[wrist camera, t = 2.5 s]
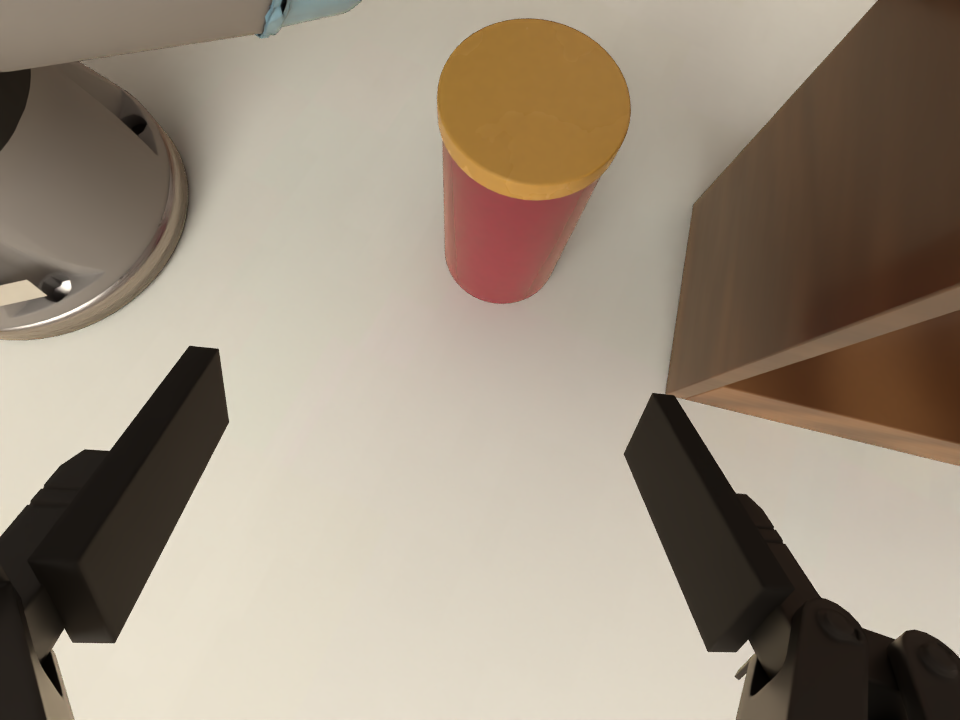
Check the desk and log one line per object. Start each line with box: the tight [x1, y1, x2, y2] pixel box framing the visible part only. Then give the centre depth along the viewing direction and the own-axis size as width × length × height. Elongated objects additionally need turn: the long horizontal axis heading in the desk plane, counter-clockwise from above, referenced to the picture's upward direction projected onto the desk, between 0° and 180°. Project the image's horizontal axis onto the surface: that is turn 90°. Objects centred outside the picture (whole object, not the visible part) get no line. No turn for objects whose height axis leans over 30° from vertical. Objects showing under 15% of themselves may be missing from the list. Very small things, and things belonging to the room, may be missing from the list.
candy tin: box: [437, 19, 631, 304], centre depth 23 cm, size 7×7×12 cm
